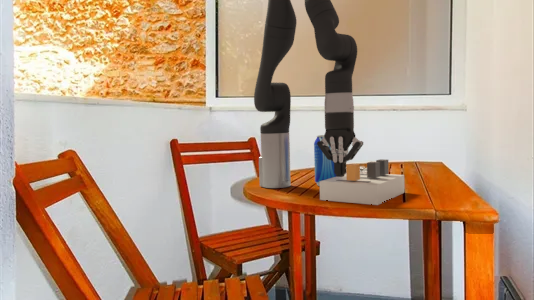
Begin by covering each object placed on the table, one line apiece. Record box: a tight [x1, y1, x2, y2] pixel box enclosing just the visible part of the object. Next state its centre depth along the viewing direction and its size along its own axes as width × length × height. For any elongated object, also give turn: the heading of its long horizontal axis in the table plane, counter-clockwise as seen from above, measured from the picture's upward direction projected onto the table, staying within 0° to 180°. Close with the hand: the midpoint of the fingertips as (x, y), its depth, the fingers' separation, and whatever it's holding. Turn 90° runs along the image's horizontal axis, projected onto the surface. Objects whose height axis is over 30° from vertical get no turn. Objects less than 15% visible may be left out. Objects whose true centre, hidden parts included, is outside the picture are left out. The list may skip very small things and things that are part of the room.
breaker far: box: [375, 159, 389, 175], centre depth 127 cm, size 2×3×4 cm
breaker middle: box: [366, 161, 380, 178], centre depth 122 cm, size 2×3×4 cm
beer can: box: [313, 134, 336, 187], centre depth 146 cm, size 8×8×16 cm
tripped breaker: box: [346, 163, 361, 181], centre depth 118 cm, size 2×3×4 cm
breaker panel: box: [319, 172, 405, 206], centre depth 124 cm, size 16×20×5 cm
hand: (340, 176), depth 120 cm, fingers closed
